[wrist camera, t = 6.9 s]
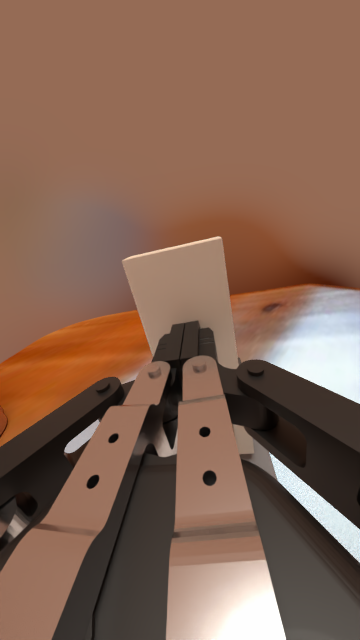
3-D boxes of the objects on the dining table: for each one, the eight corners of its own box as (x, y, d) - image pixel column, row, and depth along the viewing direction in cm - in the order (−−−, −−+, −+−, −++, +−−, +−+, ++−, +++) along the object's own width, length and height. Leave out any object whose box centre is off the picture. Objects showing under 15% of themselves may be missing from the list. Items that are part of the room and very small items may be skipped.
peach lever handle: (257, 455, 16) (232, 235, 10) (180, 458, 17) (112, 262, 11) (246, 409, 20) (223, 231, 13) (184, 415, 21) (135, 251, 14)
